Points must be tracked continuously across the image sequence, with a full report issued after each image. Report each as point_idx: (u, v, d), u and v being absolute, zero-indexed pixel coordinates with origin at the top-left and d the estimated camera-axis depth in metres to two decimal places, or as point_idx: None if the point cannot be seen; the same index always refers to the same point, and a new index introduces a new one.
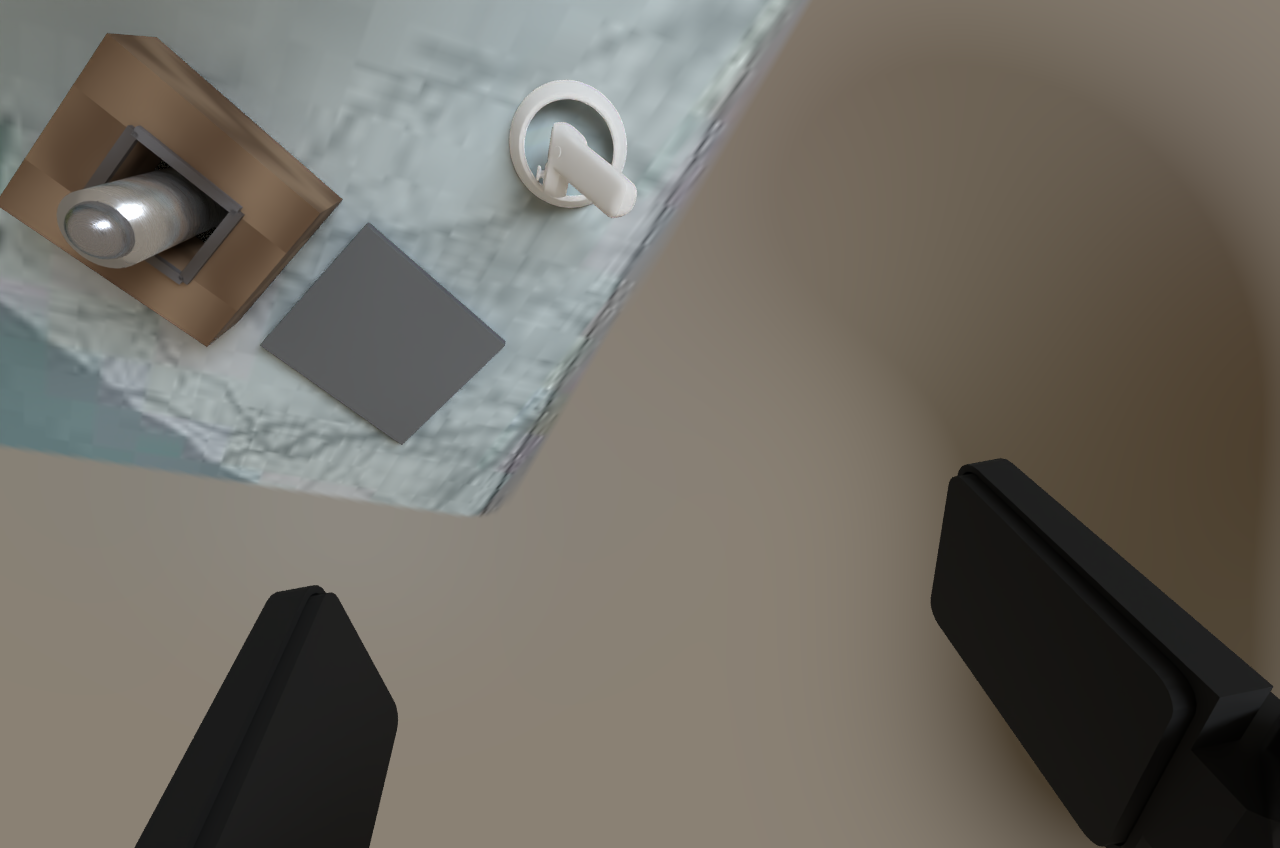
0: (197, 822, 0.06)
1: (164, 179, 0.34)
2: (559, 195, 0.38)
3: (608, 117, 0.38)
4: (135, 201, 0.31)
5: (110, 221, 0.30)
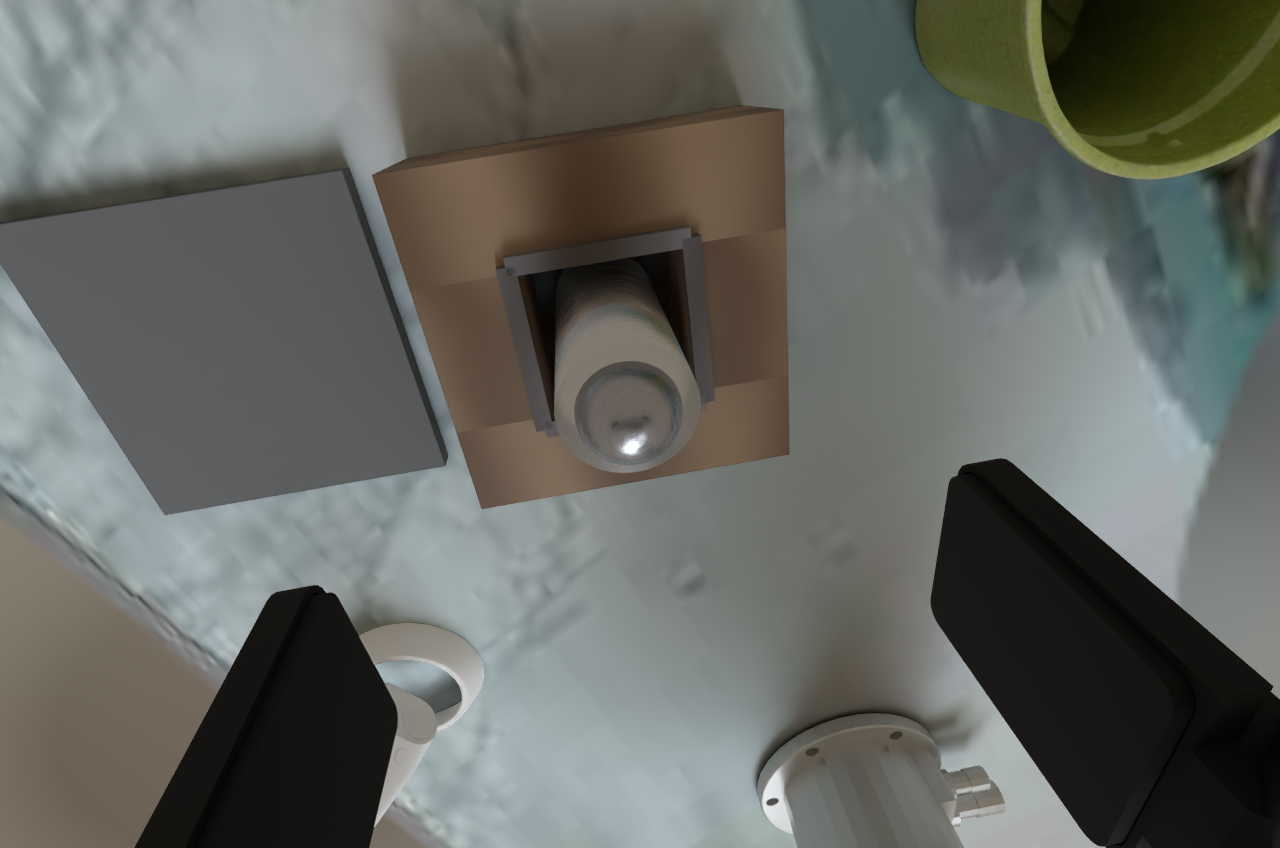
0: (196, 823, 0.06)
1: None
2: None
3: None
4: None
5: (627, 465, 0.16)
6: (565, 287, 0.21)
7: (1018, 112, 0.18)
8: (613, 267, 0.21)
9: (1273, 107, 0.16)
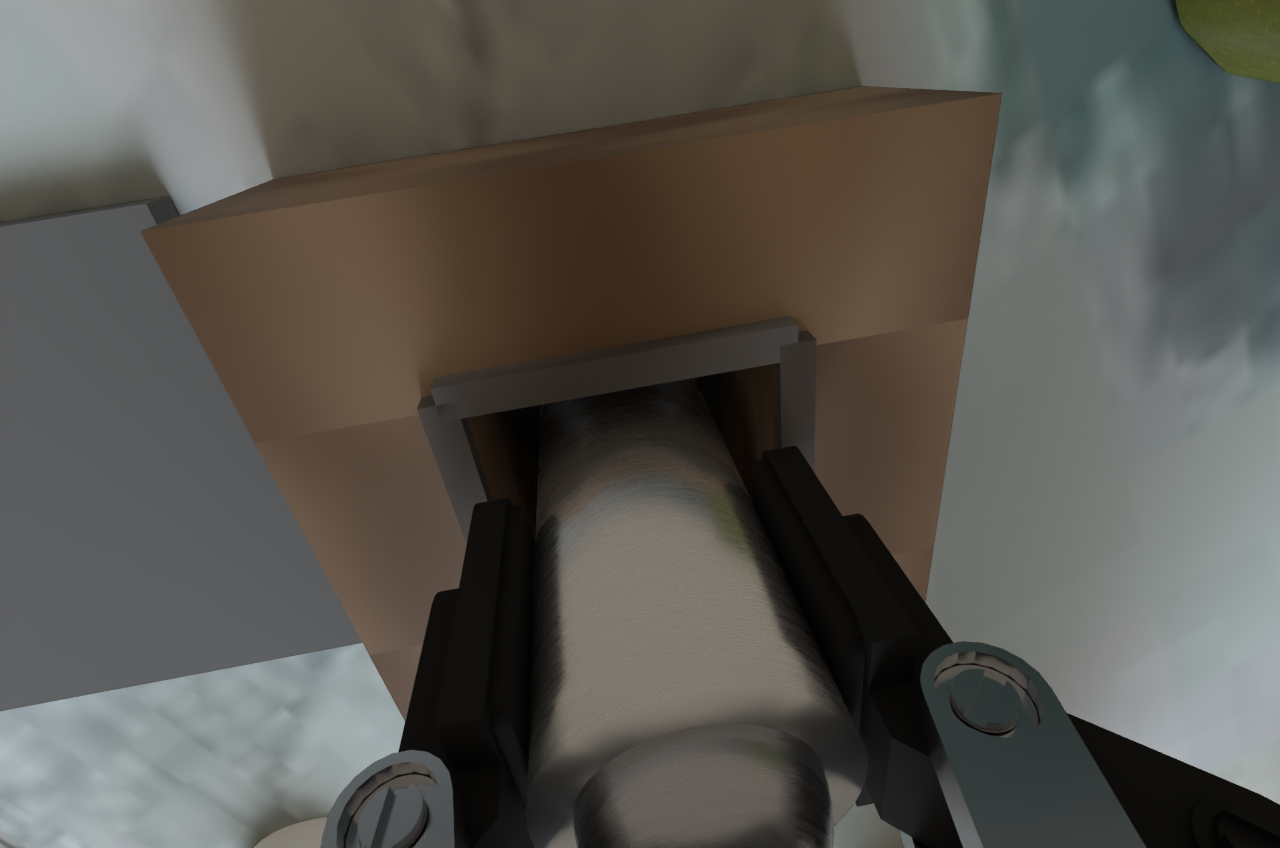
0: (489, 660, 0.07)
1: None
2: None
3: None
4: None
5: None
6: (554, 405, 0.12)
7: None
8: None
9: None
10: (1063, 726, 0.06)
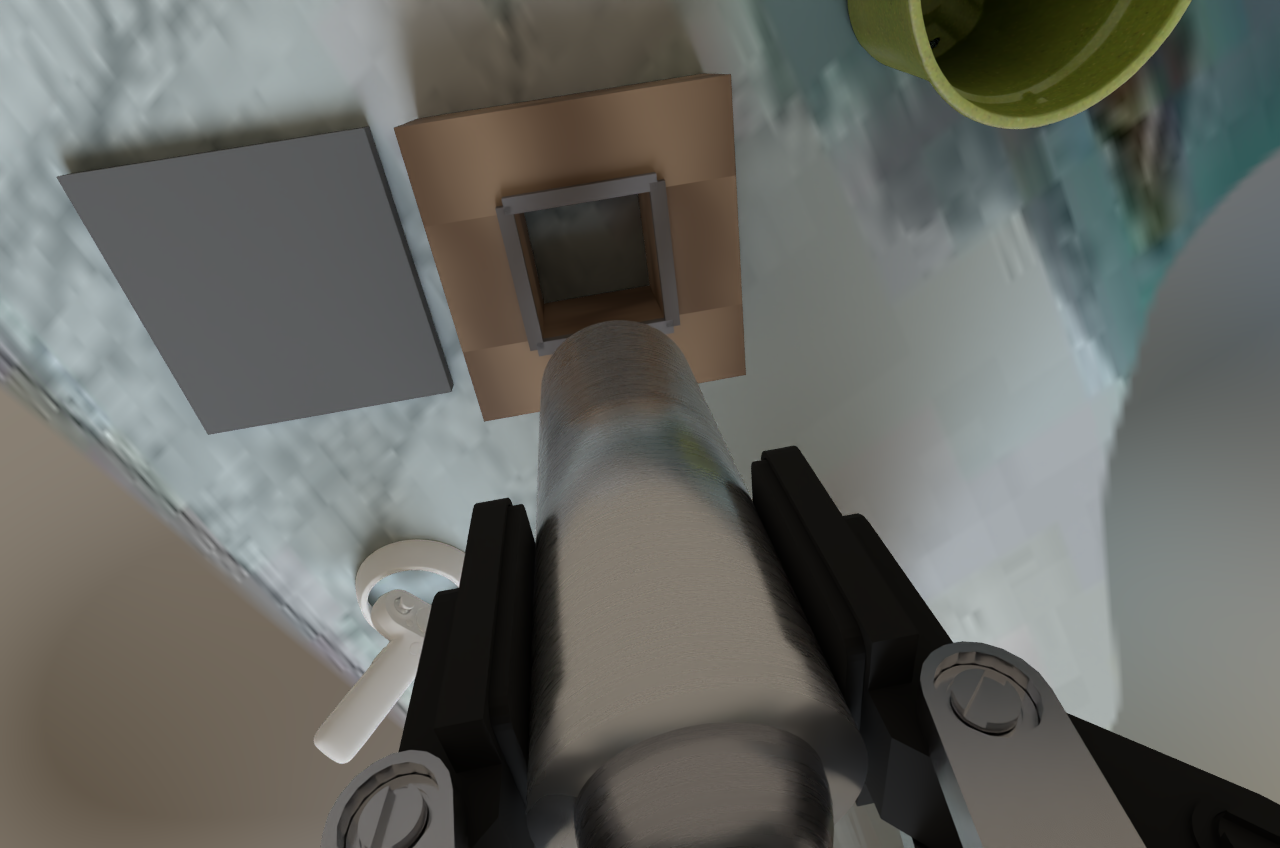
0: (489, 659, 0.07)
1: None
2: (373, 618, 0.33)
3: None
4: None
5: None
6: (554, 404, 0.12)
7: (923, 77, 0.22)
8: (639, 372, 0.12)
9: (1114, 71, 0.20)
10: (1063, 726, 0.06)
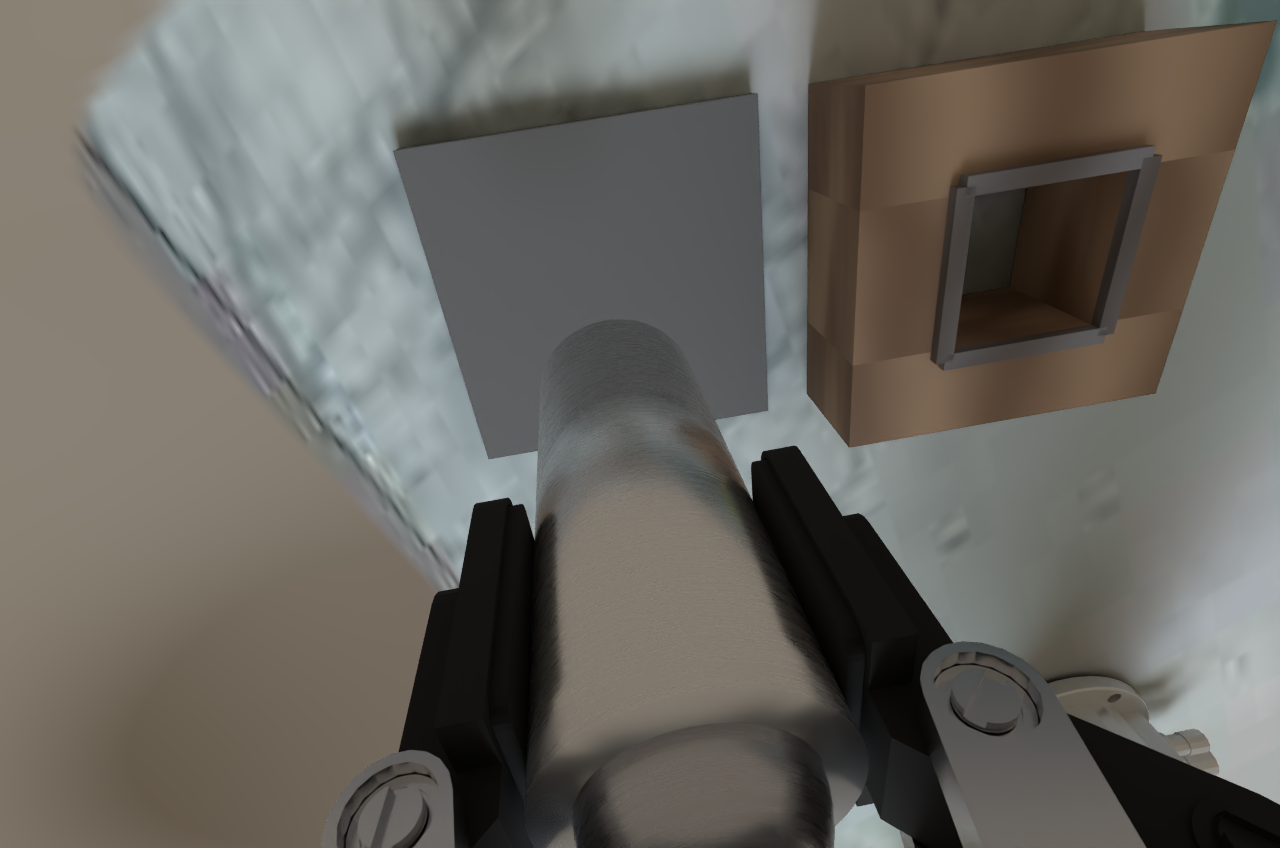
0: (489, 659, 0.07)
1: None
2: None
3: None
4: None
5: None
6: (554, 403, 0.12)
7: None
8: (639, 371, 0.12)
9: None
10: (1063, 726, 0.06)
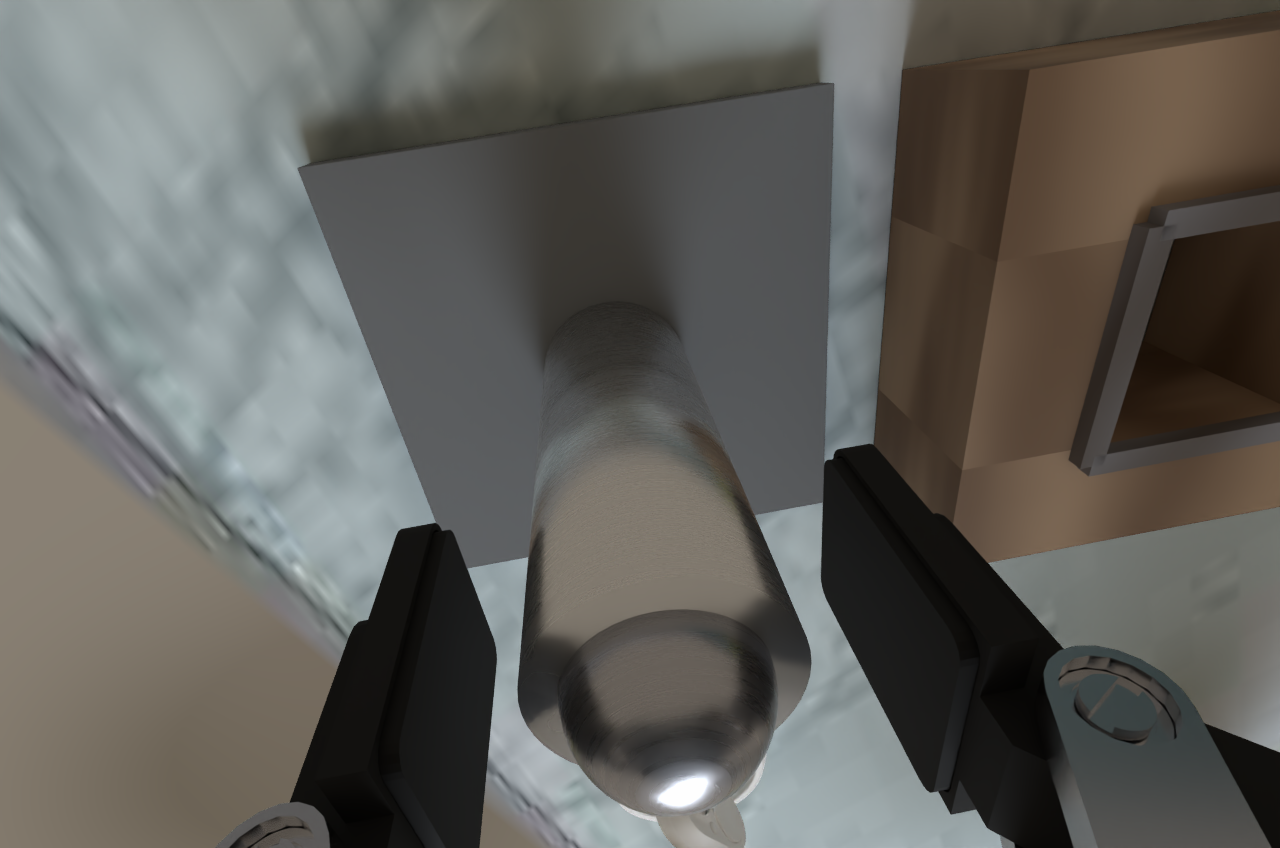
0: (384, 704, 0.07)
1: None
2: (666, 824, 0.22)
3: None
4: None
5: None
6: (555, 373, 0.14)
7: None
8: (631, 344, 0.13)
9: None
10: (1203, 745, 0.05)
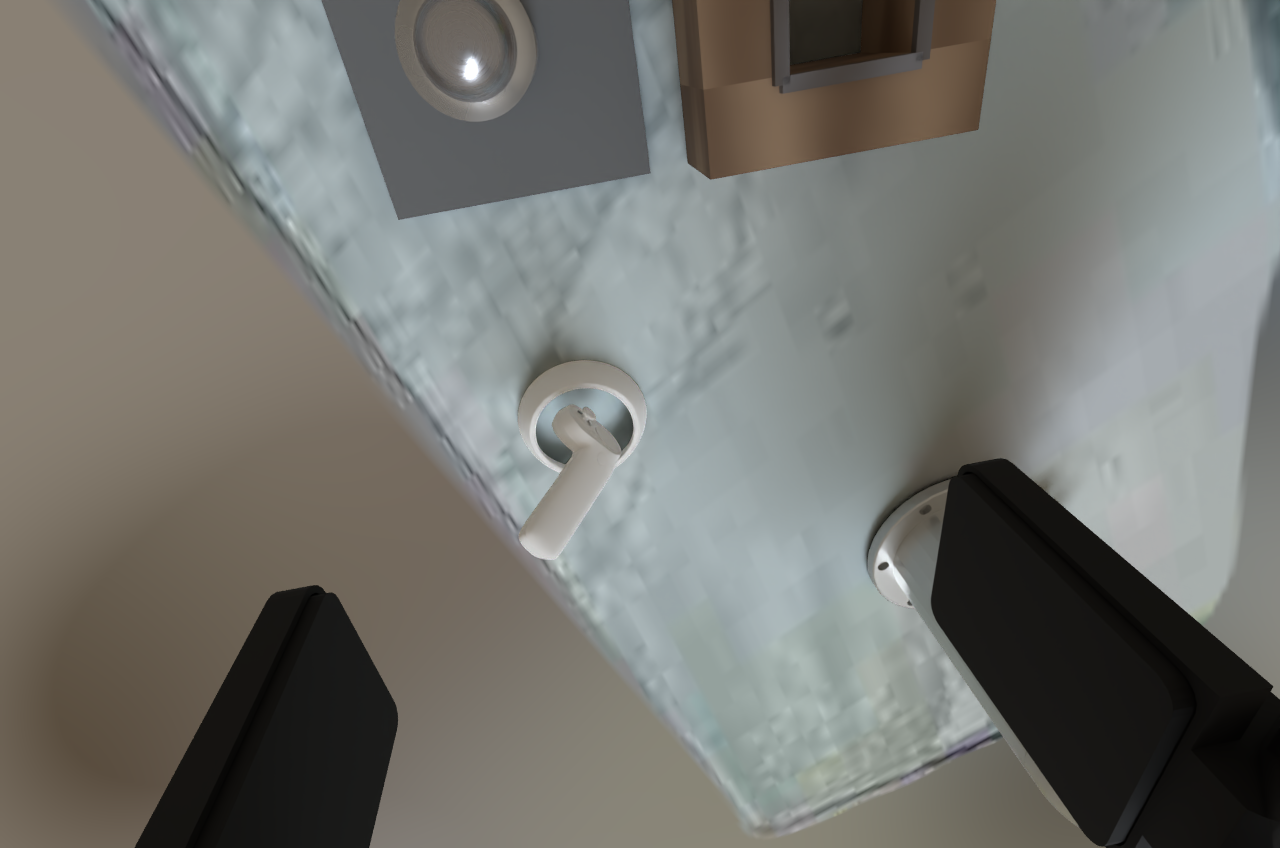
0: (196, 823, 0.06)
1: None
2: (558, 428, 0.32)
3: None
4: None
5: (466, 94, 0.17)
6: None
7: None
8: None
9: None
10: None
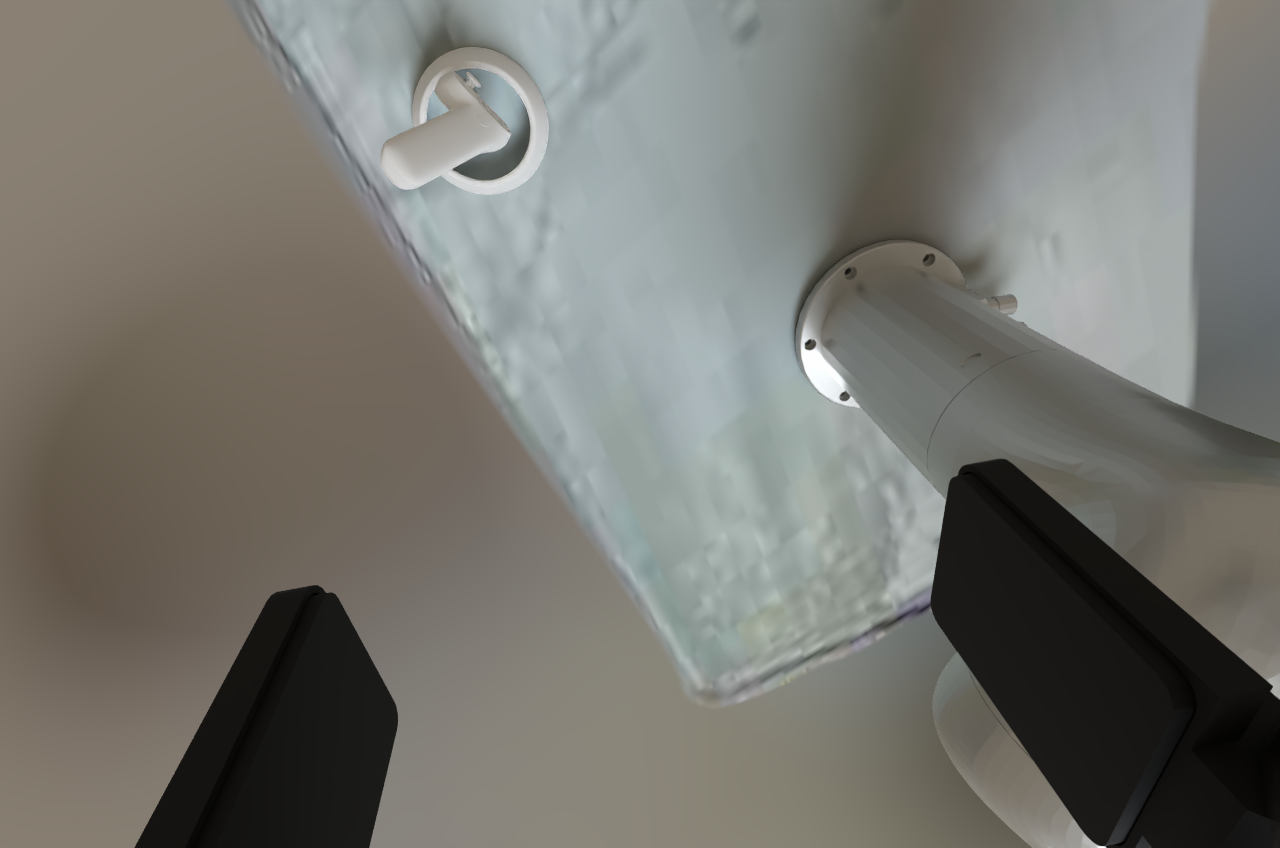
0: (196, 823, 0.06)
1: None
2: (438, 87, 0.31)
3: (486, 185, 0.36)
4: None
5: None
6: None
7: None
8: None
9: None
10: None
